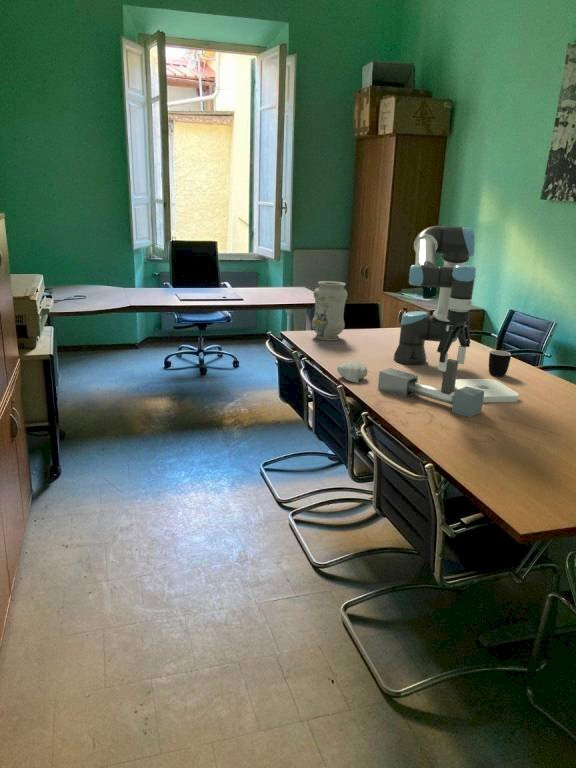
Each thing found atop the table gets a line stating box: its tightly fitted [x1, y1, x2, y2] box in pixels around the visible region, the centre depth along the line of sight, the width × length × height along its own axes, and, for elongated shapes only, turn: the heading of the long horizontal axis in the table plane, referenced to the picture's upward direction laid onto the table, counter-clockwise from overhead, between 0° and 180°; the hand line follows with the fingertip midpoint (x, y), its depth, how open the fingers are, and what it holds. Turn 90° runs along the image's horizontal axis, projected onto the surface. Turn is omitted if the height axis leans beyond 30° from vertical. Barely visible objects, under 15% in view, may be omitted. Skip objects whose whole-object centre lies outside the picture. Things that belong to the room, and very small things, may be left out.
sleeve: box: [377, 368, 419, 398], centre depth 227 cm, size 13×8×7 cm, turn 47°
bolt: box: [408, 358, 459, 406], centre depth 215 cm, size 26×4×16 cm, turn 47°
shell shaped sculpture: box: [336, 360, 368, 383], centre depth 241 cm, size 13×13×6 cm
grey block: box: [451, 386, 484, 418], centre depth 208 cm, size 7×9×8 cm
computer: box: [453, 378, 520, 403], centre depth 231 cm, size 22×22×3 cm
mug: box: [488, 349, 512, 378], centre depth 257 cm, size 12×9×10 cm
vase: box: [311, 280, 348, 342], centre depth 306 cm, size 18×18×30 cm
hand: (451, 367), depth 210 cm, fingers open, 13 cm apart
